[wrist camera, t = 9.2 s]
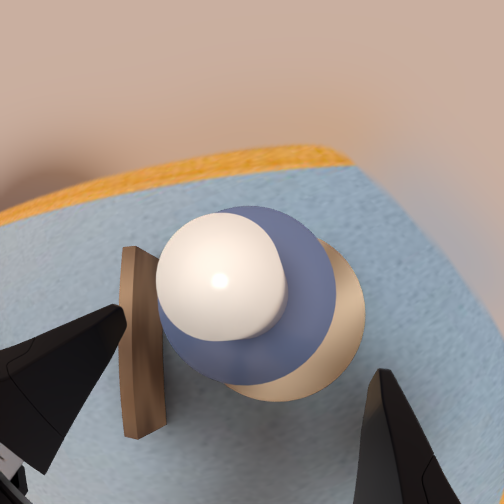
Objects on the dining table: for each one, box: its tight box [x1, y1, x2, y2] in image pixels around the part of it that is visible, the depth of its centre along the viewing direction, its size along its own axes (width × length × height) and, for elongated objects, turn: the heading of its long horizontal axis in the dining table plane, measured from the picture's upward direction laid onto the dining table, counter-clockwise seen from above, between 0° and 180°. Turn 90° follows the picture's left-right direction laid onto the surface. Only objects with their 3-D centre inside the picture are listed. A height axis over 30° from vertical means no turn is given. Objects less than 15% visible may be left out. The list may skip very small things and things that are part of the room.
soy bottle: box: [156, 206, 336, 386], centre depth 12 cm, size 5×5×12 cm
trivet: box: [224, 238, 365, 402], centre depth 18 cm, size 11×11×1 cm
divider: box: [119, 246, 167, 440], centre depth 17 cm, size 12×1×4 cm, turn 2°
